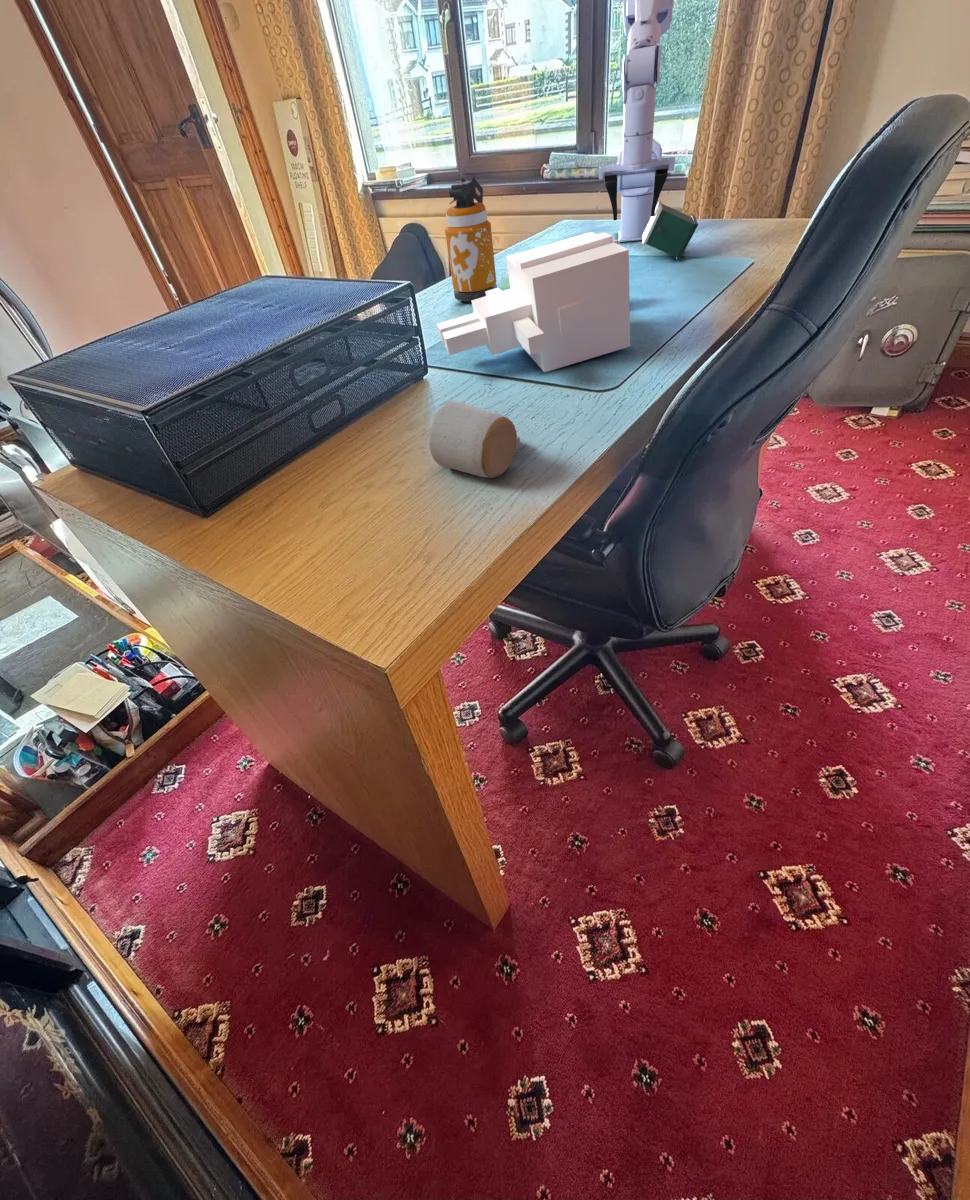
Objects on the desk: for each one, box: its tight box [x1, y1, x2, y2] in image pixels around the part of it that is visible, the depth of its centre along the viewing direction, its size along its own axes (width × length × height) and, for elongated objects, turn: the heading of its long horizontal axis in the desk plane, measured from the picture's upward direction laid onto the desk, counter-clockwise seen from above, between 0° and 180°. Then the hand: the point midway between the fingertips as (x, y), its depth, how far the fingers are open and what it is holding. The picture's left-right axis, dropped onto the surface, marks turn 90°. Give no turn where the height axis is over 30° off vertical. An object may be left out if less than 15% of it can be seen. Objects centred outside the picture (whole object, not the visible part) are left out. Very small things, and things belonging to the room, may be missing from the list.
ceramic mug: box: [428, 400, 521, 479], centre depth 66 cm, size 11×8×8 cm
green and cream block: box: [642, 200, 699, 261], centre depth 118 cm, size 9×8×7 cm
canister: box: [444, 176, 498, 304], centre depth 111 cm, size 9×11×20 cm
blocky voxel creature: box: [436, 231, 631, 373], centre depth 87 cm, size 15×25×28 cm
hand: (633, 217), depth 118 cm, fingers open, 7 cm apart
